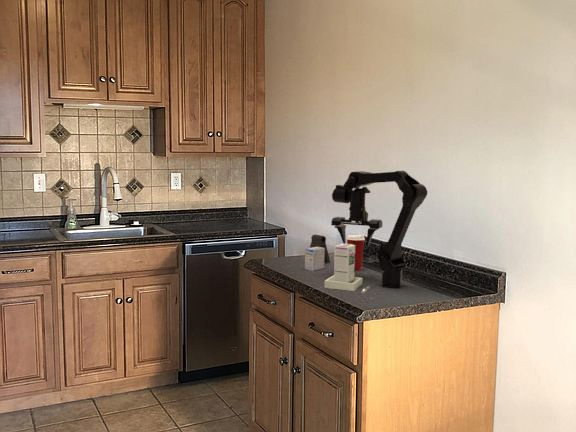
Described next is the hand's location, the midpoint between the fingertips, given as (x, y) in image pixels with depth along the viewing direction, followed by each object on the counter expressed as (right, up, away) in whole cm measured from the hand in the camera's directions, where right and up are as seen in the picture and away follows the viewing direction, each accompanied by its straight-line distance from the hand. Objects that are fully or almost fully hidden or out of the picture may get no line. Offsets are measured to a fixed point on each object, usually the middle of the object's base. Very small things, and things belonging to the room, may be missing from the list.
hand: (356, 245), depth 247 cm
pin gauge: (+1, -15, -18) cm, 23 cm away
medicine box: (-15, -11, +18) cm, 26 cm away
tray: (-6, -15, -12) cm, 20 cm away
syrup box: (-6, -14, -12) cm, 19 cm away
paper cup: (+1, -11, +19) cm, 22 cm away
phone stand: (-13, -9, +31) cm, 35 cm away
